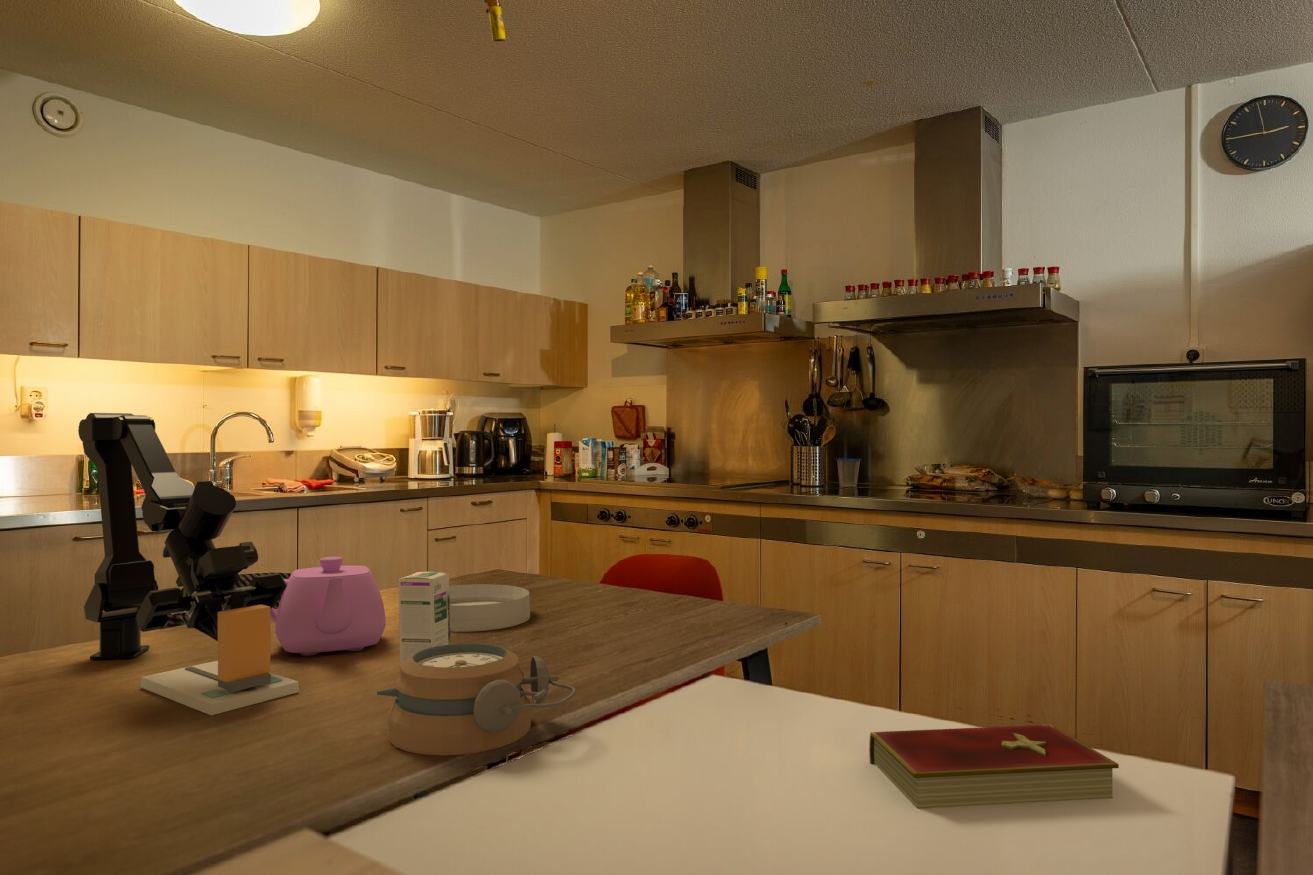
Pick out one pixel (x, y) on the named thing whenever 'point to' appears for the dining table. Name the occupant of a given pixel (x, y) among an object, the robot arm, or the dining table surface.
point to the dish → (487, 607)
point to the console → (213, 689)
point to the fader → (244, 647)
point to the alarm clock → (465, 699)
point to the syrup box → (423, 612)
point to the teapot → (329, 609)
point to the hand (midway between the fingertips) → (236, 649)
